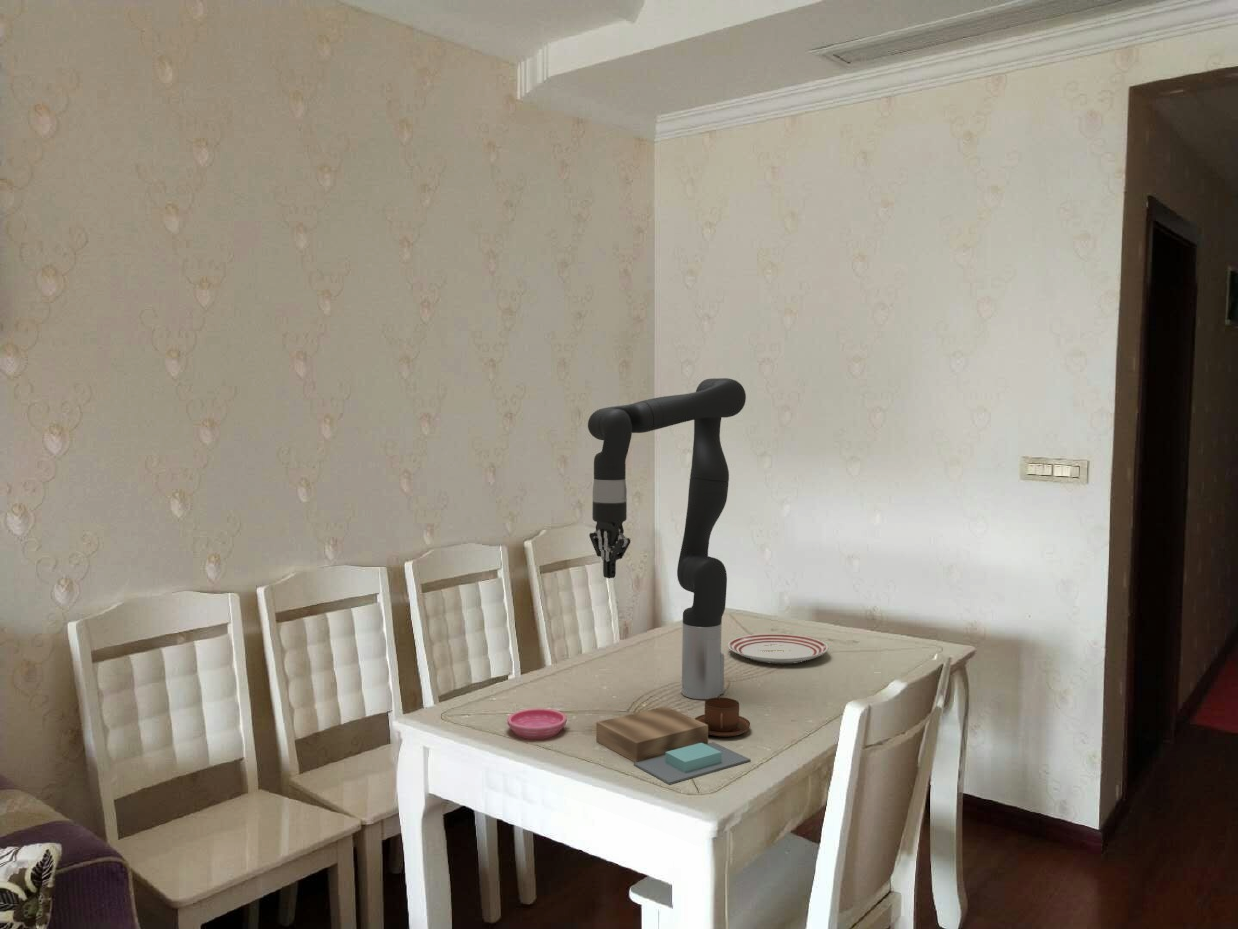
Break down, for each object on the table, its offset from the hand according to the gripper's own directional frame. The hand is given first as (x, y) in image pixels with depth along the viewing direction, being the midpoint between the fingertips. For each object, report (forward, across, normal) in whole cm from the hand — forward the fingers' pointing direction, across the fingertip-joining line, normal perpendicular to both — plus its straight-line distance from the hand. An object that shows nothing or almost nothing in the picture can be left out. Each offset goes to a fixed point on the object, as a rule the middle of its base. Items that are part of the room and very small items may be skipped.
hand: (609, 577), depth 207 cm
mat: (+31, -33, +4) cm, 45 cm away
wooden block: (+31, -20, +3) cm, 37 cm away
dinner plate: (+31, +13, -66) cm, 74 cm away
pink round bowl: (+31, -1, +19) cm, 36 cm away
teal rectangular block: (+28, -33, +4) cm, 44 cm away
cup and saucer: (+31, -23, -13) cm, 41 cm away
